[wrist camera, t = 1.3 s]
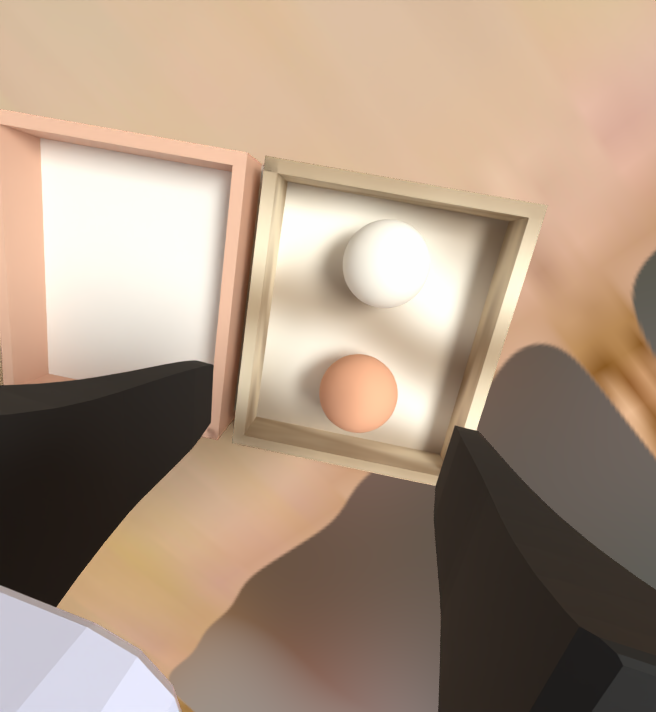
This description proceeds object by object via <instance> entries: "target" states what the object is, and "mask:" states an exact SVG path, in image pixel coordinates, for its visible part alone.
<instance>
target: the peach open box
mask: <svg viewBox="0 0 656 712" xmlns="http://www.w3.org/2000/svg"><path fill="white" fill-rule="evenodd" d="M263 170H264V165H263V164H261V163H260V162H259V161H258V160H256V159H255V158H254V157H252V156H251V155H250V154H249V153H247V152H242V151H236V150H230V149H224V148H219V147H213V146H207V145H202V144H196V143H190V142H185V141H179V140H173V139H168V138H162V137H156V136H151V135H145V134H139V133H133V132H128V131H122V130H116V129H111V128H105V127H99V126H94V125H88V124H82V123H77V122H71V121H65V120H60V119H54V118H48V117H42V116H37V115H31V114H25V113H20V112H14V111H8V110H3V109H0V341H1V354H2V368H3V382H4V385H20V384H40V383H51V382H61V381H71V380H79V379H86V378H93V377H99V376H105V375H111V374H117V373H122V372H128V371H133V370H138V369H143V368H148V367H154V366H159V365H164V364H169V363H175V362H181V361H190V360H197V361H201V362H205V363H209V364H213V365H214V369H213V390H212V411H211V423H210V425H209V426H208V428H207V429H206V431H205V432H204V433H203V435H202V436H201V437H205V438H210V439H215V440H218V439H219V437H220V436H221V435H222V434H223V432H224V431H225V430H226V428H227V427H228V426H229V425H230V423H231V422H232V421H233V419H234V418H235V410H236V402H237V393H238V384H239V376H240V367H241V359H242V350H243V341H244V333H245V324H246V316H247V307H248V298H249V290H250V281H251V273H252V264H253V256H254V247H255V238H256V230H257V221H258V213H259V204H260V195H261V187H262V178H263Z"/></svg>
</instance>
